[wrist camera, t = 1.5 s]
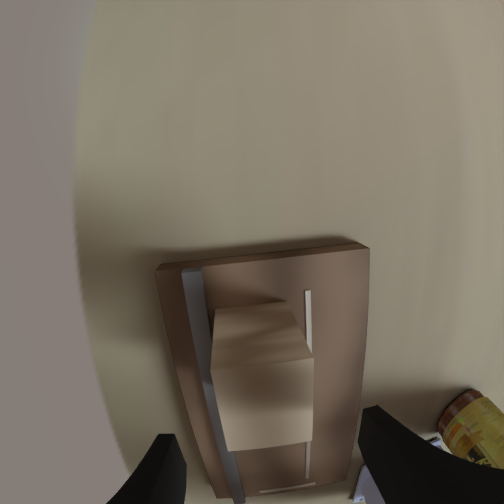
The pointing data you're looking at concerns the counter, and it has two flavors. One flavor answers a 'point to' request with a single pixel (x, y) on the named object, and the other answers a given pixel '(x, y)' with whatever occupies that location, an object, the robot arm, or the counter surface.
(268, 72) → the counter surface
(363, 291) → the walnut board
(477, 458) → the sauce bottle
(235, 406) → the maple block
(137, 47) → the counter surface
